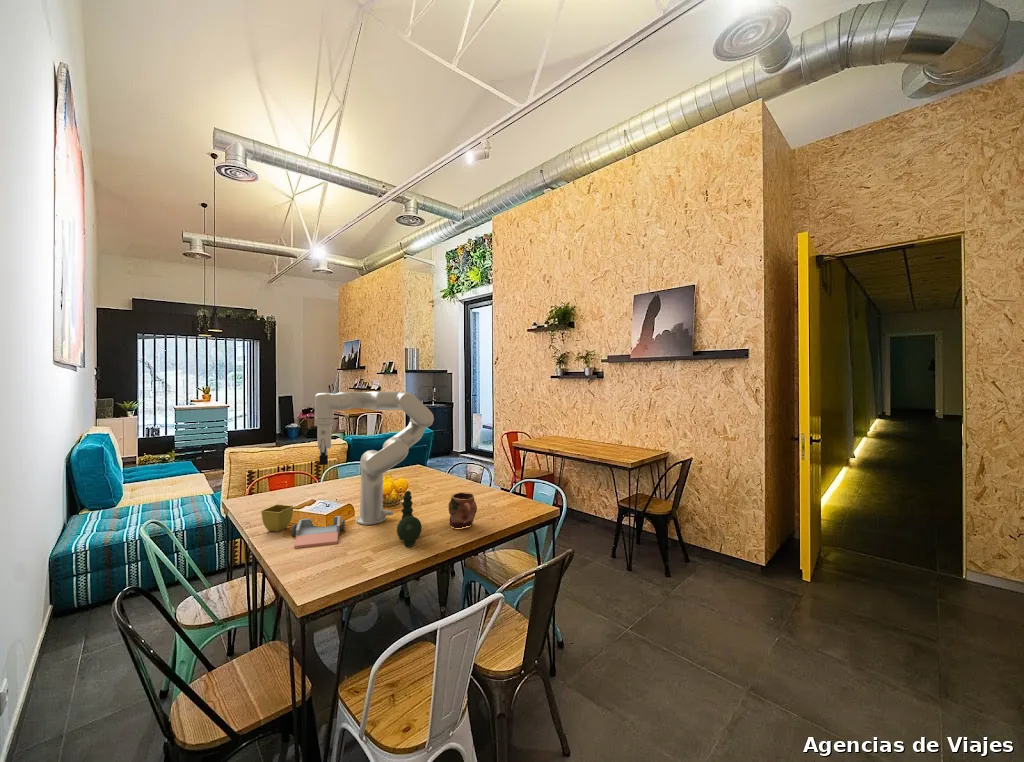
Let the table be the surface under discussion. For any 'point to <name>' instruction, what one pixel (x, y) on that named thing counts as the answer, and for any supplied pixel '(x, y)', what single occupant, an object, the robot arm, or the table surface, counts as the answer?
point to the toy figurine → (408, 523)
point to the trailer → (308, 528)
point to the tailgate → (316, 539)
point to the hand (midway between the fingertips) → (323, 464)
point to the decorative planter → (462, 510)
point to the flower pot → (277, 517)
